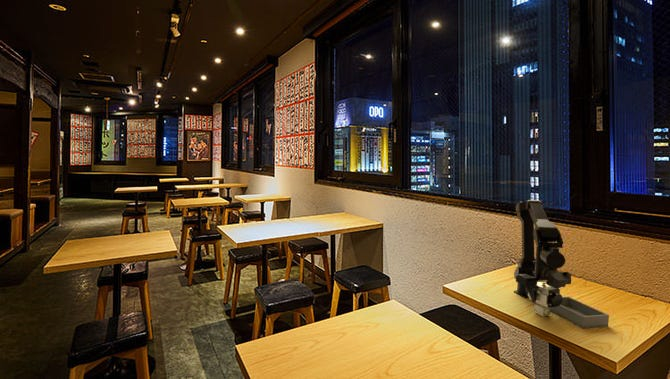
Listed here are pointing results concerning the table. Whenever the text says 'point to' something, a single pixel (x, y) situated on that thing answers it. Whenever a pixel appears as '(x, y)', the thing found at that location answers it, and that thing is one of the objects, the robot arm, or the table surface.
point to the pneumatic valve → (546, 299)
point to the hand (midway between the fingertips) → (541, 301)
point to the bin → (580, 314)
